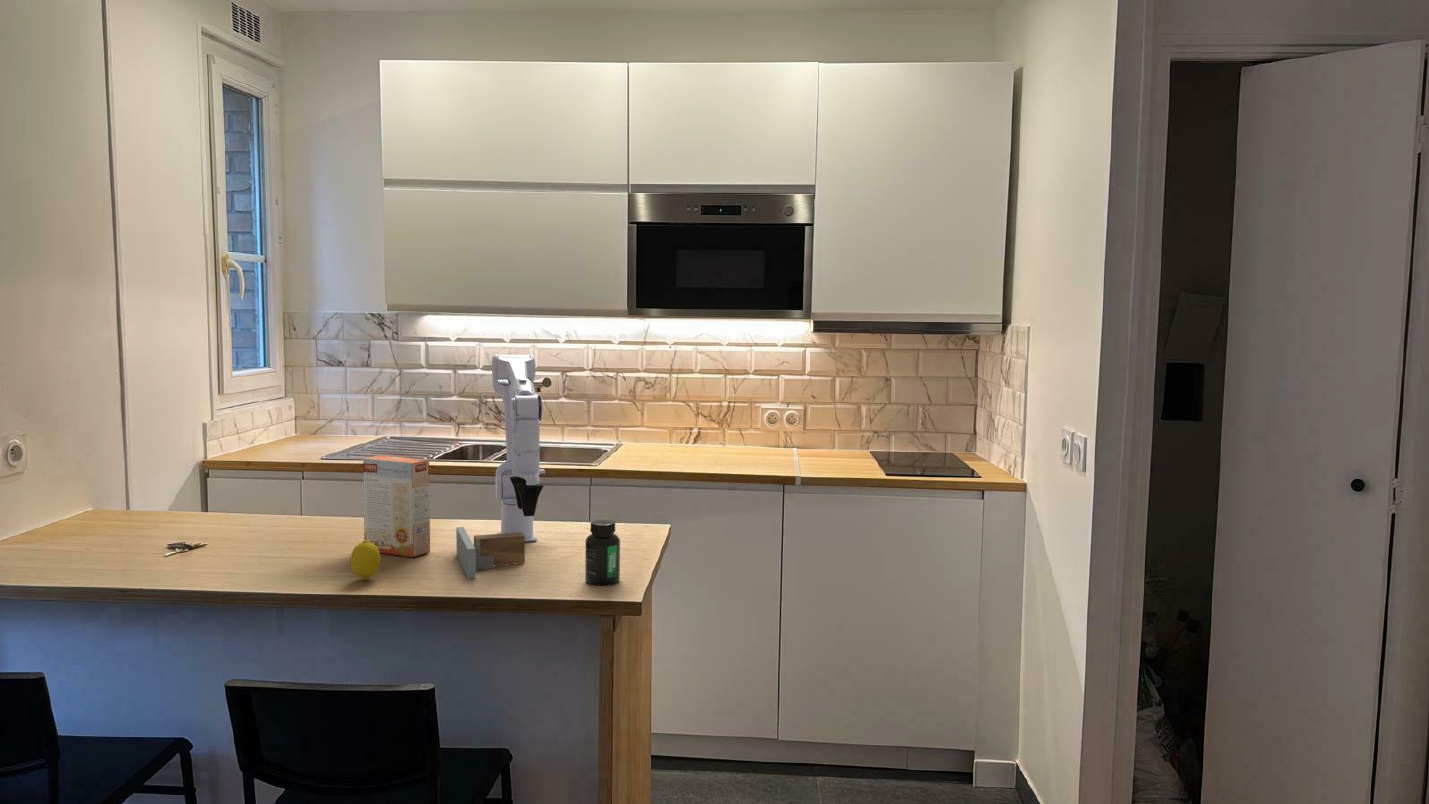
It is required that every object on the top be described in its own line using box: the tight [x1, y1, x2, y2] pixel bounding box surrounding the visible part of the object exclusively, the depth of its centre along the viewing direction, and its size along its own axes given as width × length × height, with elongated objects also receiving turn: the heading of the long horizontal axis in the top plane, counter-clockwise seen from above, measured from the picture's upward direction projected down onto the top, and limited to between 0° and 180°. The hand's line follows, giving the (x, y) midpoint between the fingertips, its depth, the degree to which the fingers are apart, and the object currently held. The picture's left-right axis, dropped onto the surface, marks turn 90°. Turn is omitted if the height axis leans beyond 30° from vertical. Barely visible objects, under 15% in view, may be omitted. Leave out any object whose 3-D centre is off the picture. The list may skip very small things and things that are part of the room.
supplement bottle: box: [584, 519, 621, 587], centre depth 187 cm, size 7×7×12 cm
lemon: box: [350, 539, 381, 581], centre depth 185 cm, size 6×6×8 cm
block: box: [473, 532, 526, 566], centre depth 199 cm, size 4×10×6 cm, turn 112°
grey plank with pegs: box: [455, 526, 495, 579], centre depth 198 cm, size 20×6×6 cm, turn 22°
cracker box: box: [362, 455, 431, 558], centre depth 206 cm, size 14×6×21 cm, turn 65°
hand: (526, 512), depth 204 cm, fingers open, 7 cm apart
